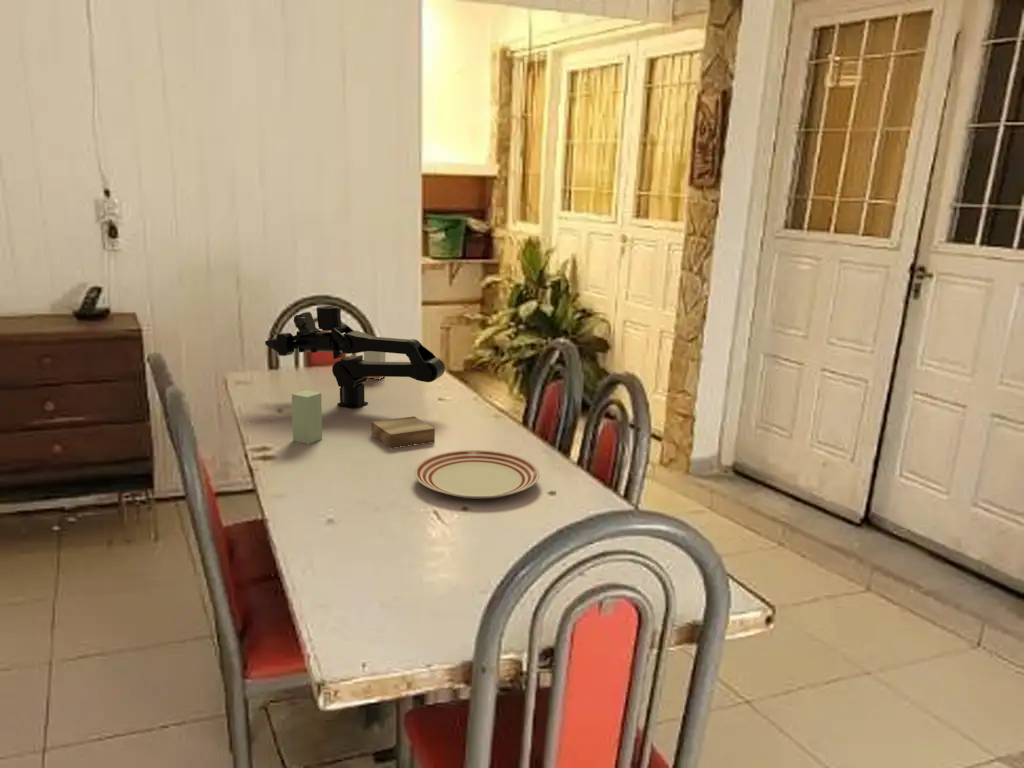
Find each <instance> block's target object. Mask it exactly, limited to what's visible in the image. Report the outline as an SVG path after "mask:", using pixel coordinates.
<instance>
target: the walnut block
mask: <svg viewBox="0 0 1024 768" xmlns="http://www.w3.org/2000/svg"><path fill="white" fill-rule="evenodd" d="M435 429H436V428H434V427H433V426H431V425H430V424H429V423H426V422H425V421H423V420H422V419H419V418H418V417H416V416H407V417H399V418H392V419H383V420H376V421H371V436H372V435H373V436H372V437H374V436H375V437H376V438H377V440H378V439H379V440H380V441H379V440H378V441H379V442H381V443H382V442H383V443H385V444H386V445H387V446H386V445H385V444H384V445H385V446H386V447H388V446H389V447H390V448H392V449H395V448H394V447H399V448H403V447H402V446H405V447H409V446H408V445H412V446H415V445H414V444H419V445H422V444H421V443H426V444H430V443H429V442H433V443H435V440H436V439H435V434H436V430H435ZM375 437H374V438H375ZM376 438H375V439H376ZM383 443H382V444H383ZM400 446H401V447H400ZM389 447H388V448H389ZM390 448H389V449H390Z"/></svg>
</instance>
